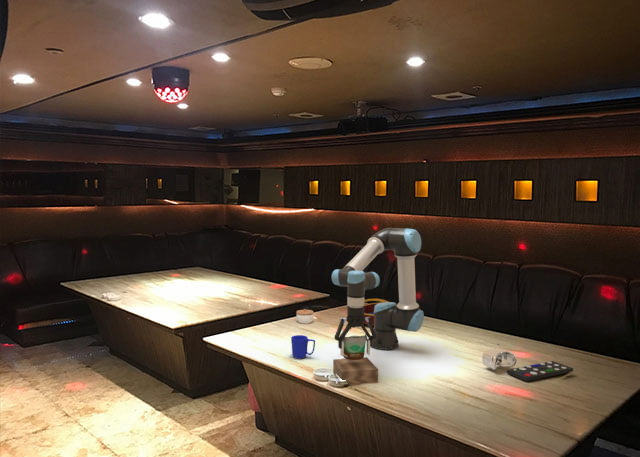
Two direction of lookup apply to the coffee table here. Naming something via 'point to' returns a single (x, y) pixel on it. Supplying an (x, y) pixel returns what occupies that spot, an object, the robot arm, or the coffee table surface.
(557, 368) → the remote control
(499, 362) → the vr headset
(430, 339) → the coffee table surface
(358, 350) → the food container
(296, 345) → the mug
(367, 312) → the decorative basket
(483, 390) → the coffee table surface
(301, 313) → the lidded jar
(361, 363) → the walnut riser
